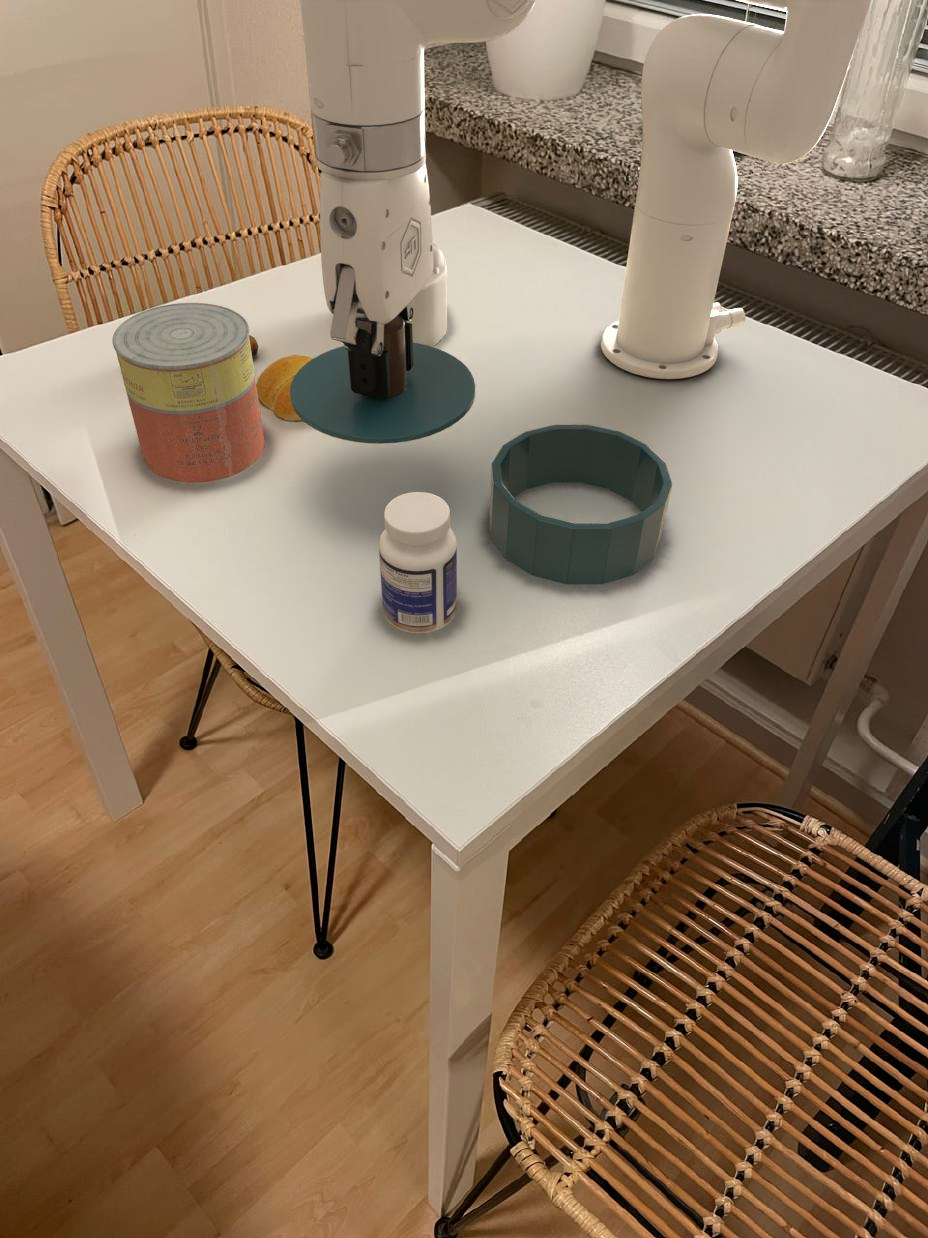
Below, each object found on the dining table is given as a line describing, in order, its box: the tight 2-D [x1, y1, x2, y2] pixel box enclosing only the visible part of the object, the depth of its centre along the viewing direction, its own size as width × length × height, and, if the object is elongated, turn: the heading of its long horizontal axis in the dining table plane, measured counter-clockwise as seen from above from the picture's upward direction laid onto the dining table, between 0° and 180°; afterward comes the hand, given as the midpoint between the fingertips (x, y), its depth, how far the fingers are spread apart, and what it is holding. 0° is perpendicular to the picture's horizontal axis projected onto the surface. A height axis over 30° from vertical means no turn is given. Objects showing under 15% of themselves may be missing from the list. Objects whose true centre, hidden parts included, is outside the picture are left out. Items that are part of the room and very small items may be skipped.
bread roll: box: [256, 354, 314, 422], centre depth 94 cm, size 8×9×4 cm
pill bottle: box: [378, 491, 458, 634], centre depth 71 cm, size 6×6×10 cm
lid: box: [290, 315, 477, 445], centre depth 76 cm, size 15×15×7 cm
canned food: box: [112, 302, 265, 483], centre depth 85 cm, size 11×11×12 cm
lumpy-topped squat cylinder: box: [358, 242, 448, 347], centre depth 104 cm, size 10×13×9 cm
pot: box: [488, 424, 673, 585], centre depth 79 cm, size 14×14×6 cm
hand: (382, 378), depth 77 cm, fingers closed on lid, 3 cm apart
